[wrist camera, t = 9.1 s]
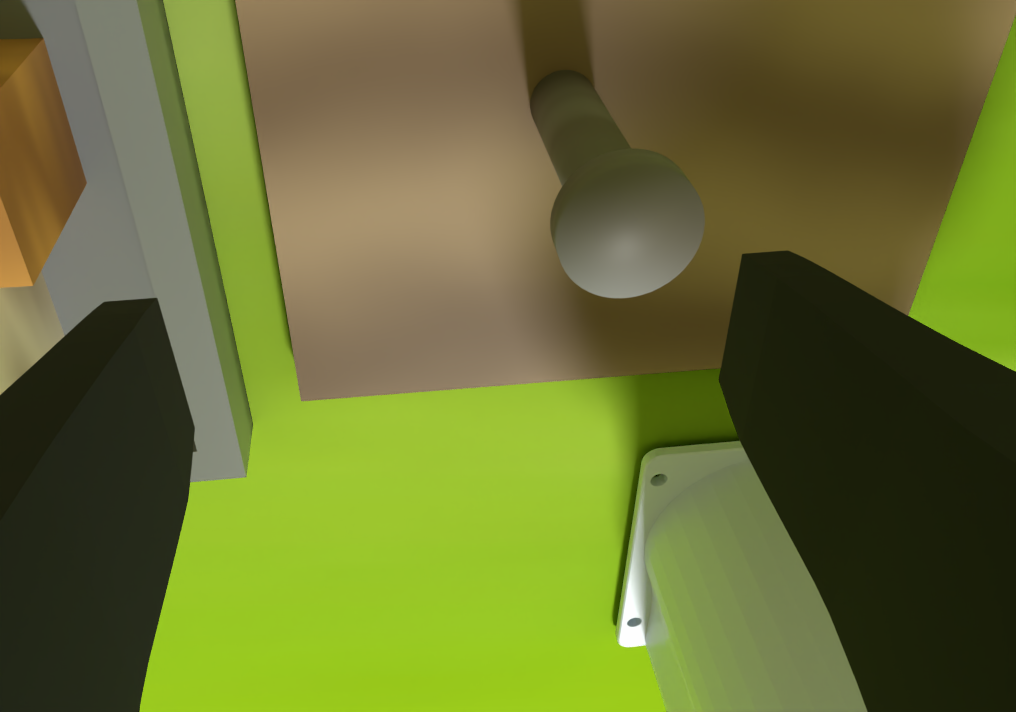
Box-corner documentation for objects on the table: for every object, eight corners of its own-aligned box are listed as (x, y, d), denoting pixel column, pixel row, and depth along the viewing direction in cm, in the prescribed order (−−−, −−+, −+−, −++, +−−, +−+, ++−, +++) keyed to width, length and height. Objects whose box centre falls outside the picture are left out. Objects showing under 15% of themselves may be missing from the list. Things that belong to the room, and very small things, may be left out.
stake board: (876, 333, 25) (1016, 504, 20) (302, 376, 23) (289, 579, 18) (1103, -343, 16) (1476, -357, 11) (183, -370, 14) (85, -403, 9)
